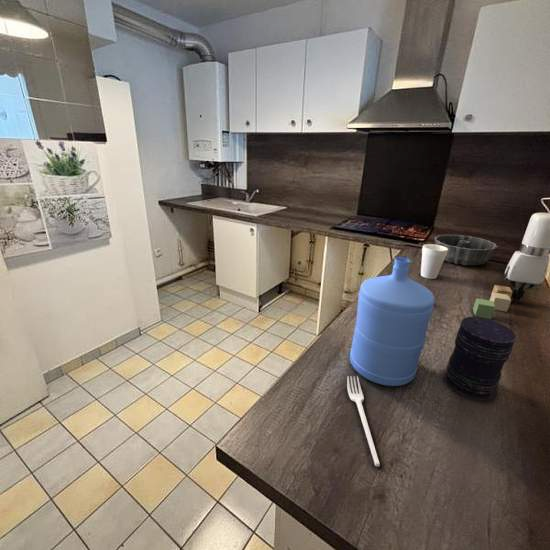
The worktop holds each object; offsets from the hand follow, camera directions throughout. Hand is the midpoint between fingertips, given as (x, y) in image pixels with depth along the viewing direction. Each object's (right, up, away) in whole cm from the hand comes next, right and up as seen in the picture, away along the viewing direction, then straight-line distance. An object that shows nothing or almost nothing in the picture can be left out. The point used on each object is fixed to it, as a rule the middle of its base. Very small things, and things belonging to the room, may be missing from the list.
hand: (515, 298), depth 105 cm
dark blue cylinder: (-42, -17, -38) cm, 59 cm away
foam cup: (-20, +8, +22) cm, 31 cm away
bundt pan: (+6, +16, +42) cm, 45 cm away
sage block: (-18, -5, -8) cm, 21 cm away
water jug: (-60, -14, -32) cm, 70 cm away
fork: (-70, -20, -47) cm, 86 cm away
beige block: (-9, -3, -4) cm, 11 cm away
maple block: (-4, 0, +2) cm, 5 cm away
